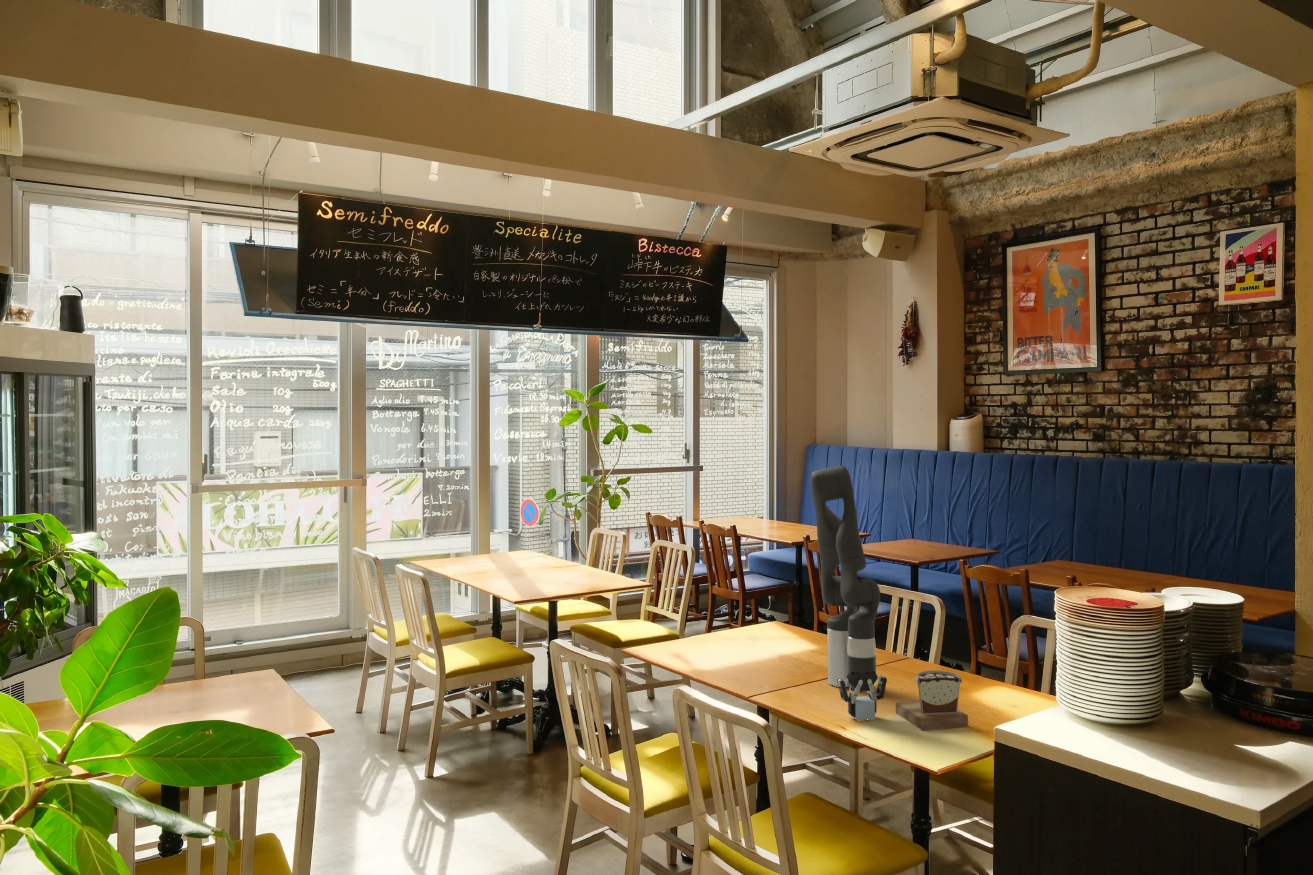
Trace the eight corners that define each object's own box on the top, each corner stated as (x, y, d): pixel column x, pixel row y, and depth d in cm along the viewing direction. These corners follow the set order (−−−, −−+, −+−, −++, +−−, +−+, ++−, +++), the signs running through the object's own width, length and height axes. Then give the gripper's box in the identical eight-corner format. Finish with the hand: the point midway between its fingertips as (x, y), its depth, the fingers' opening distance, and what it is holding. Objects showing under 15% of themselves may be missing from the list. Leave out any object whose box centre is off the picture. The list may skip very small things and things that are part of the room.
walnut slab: (895, 712, 245) (895, 702, 245) (939, 709, 248) (938, 698, 248) (922, 730, 231) (922, 718, 231) (968, 726, 233) (967, 715, 233)
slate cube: (850, 715, 244) (849, 697, 244) (867, 714, 245) (866, 696, 245) (857, 721, 239) (857, 702, 239) (875, 719, 240) (874, 701, 240)
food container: (953, 705, 241) (953, 669, 241) (962, 712, 235) (962, 675, 235) (909, 707, 241) (908, 670, 241) (916, 714, 234) (916, 676, 234)
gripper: (842, 658, 237) (843, 721, 237) (892, 654, 239) (893, 717, 240) (831, 651, 244) (832, 713, 244) (880, 648, 247) (881, 709, 247)
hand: (862, 715), depth 242 cm, fingers closed on slate cube, 5 cm apart
